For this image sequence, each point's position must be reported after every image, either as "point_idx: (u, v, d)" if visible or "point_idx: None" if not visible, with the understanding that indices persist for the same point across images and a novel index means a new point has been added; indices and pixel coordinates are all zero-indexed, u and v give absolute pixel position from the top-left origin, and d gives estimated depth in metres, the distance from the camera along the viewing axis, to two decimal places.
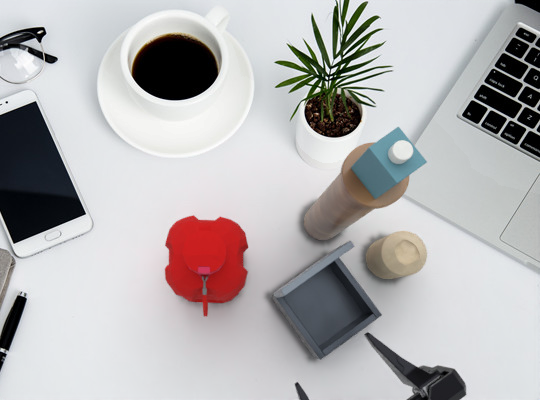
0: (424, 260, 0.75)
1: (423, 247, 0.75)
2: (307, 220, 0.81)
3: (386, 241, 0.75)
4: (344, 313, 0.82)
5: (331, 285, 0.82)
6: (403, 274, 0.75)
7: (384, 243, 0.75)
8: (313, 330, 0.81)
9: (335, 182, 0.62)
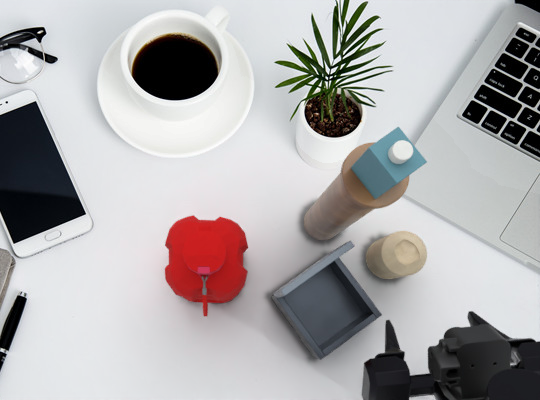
0: (424, 260, 0.75)
1: (423, 247, 0.75)
2: (307, 220, 0.81)
3: (386, 241, 0.75)
4: (344, 313, 0.82)
5: (331, 285, 0.82)
6: (403, 274, 0.75)
7: (384, 243, 0.75)
8: (313, 330, 0.81)
9: (335, 182, 0.62)
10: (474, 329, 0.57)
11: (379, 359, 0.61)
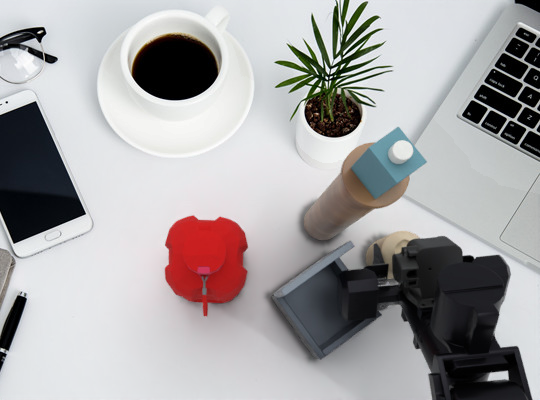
0: None
1: None
2: (307, 220, 0.81)
3: (386, 241, 0.75)
4: None
5: (331, 285, 0.82)
6: None
7: (384, 243, 0.75)
8: (313, 330, 0.81)
9: (335, 182, 0.62)
10: (432, 239, 0.65)
11: (351, 271, 0.70)
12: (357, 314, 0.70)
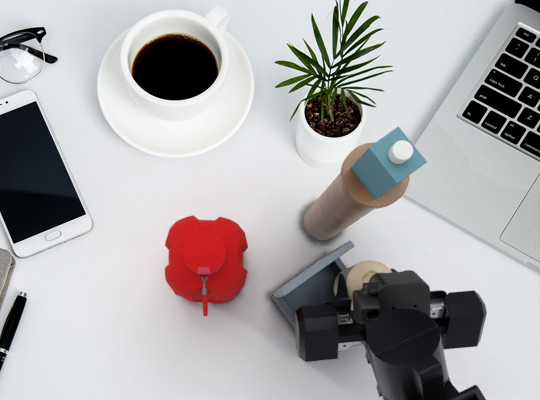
0: None
1: None
2: (307, 220, 0.81)
3: (352, 272, 0.68)
4: None
5: (331, 285, 0.82)
6: None
7: (350, 274, 0.68)
8: None
9: (335, 182, 0.62)
10: (397, 274, 0.58)
11: (309, 307, 0.63)
12: (316, 355, 0.63)
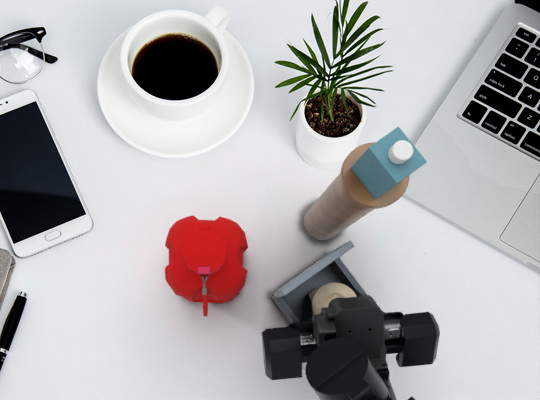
0: None
1: None
2: (307, 220, 0.81)
3: (317, 293, 0.72)
4: None
5: None
6: None
7: (315, 295, 0.72)
8: None
9: (335, 182, 0.62)
10: (354, 299, 0.63)
11: (275, 329, 0.67)
12: (281, 374, 0.67)
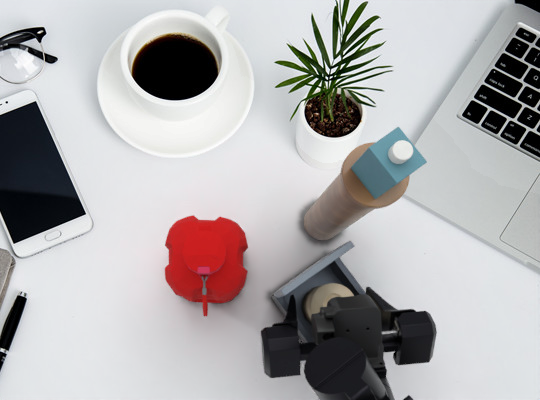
0: None
1: None
2: (307, 220, 0.81)
3: (315, 294, 0.74)
4: None
5: None
6: None
7: (313, 296, 0.74)
8: None
9: (335, 182, 0.62)
10: (352, 298, 0.63)
11: (273, 327, 0.67)
12: (280, 372, 0.68)
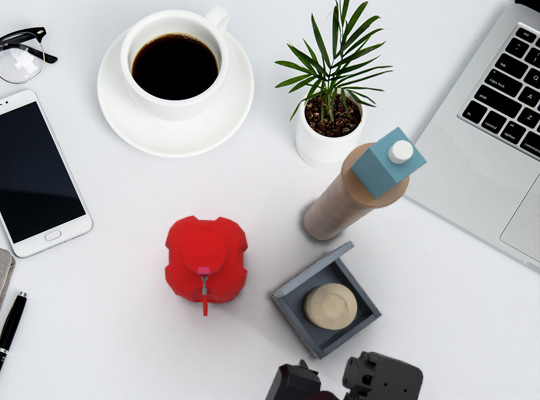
0: (354, 314, 0.73)
1: (353, 300, 0.73)
2: (307, 220, 0.81)
3: (315, 294, 0.74)
4: None
5: None
6: (332, 328, 0.73)
7: (313, 296, 0.74)
8: (313, 330, 0.81)
9: (335, 182, 0.62)
10: (393, 358, 0.59)
11: (295, 367, 0.61)
12: None
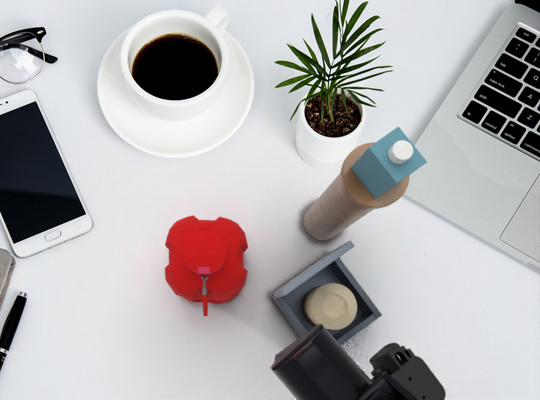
0: (354, 314, 0.73)
1: (353, 300, 0.73)
2: (307, 220, 0.81)
3: (315, 294, 0.74)
4: None
5: None
6: (332, 328, 0.73)
7: (313, 296, 0.74)
8: None
9: (335, 182, 0.62)
10: None
11: None
12: None
